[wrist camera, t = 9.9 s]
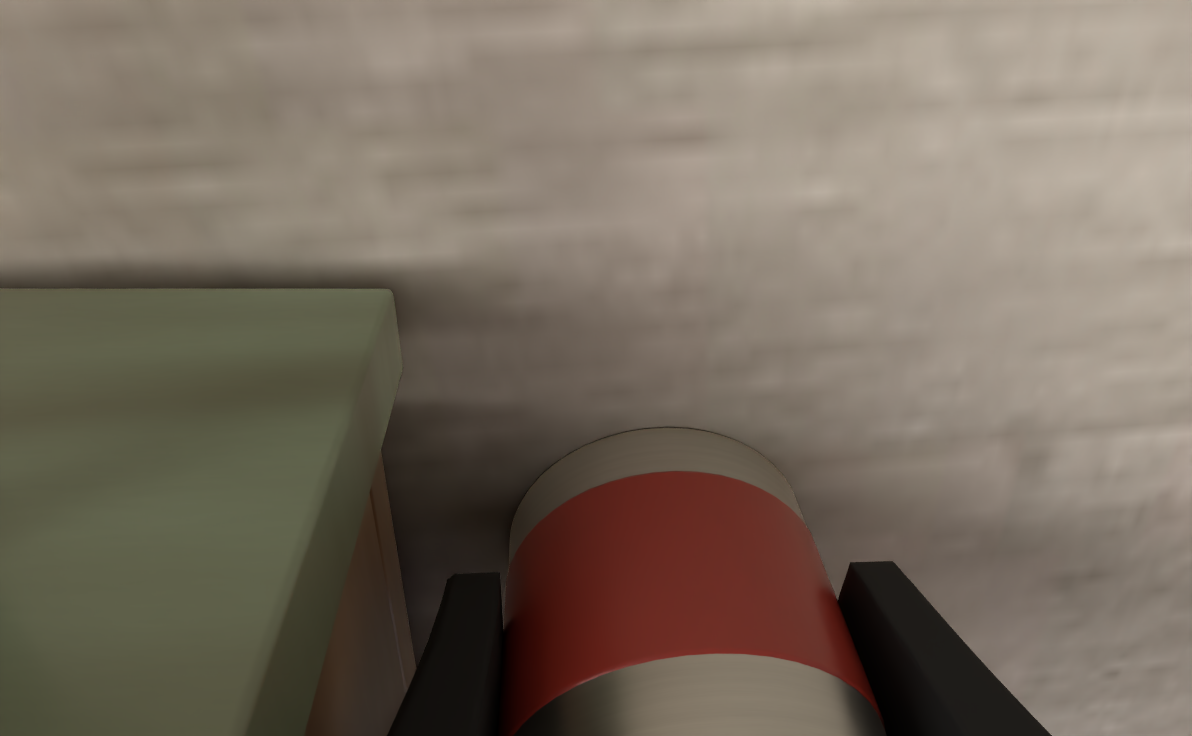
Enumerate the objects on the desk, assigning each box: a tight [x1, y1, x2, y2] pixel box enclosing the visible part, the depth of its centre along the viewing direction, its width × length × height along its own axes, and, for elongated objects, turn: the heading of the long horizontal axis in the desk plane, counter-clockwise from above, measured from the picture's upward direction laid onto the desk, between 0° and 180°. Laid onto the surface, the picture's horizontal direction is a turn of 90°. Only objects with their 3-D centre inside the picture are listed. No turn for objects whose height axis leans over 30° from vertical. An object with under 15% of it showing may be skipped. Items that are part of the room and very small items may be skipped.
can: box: [498, 427, 887, 736], centre depth 11 cm, size 5×5×5 cm
